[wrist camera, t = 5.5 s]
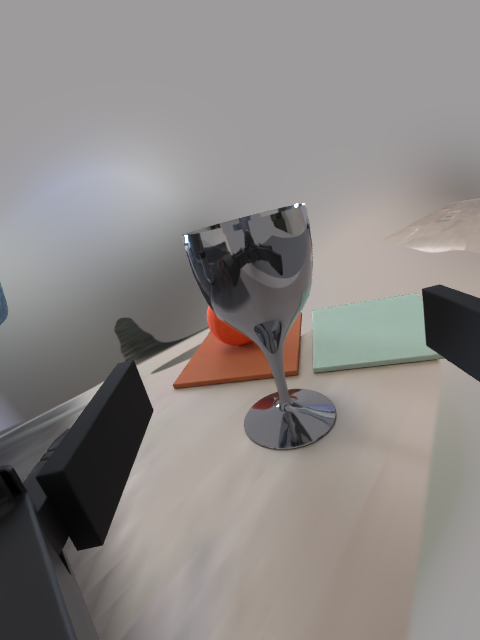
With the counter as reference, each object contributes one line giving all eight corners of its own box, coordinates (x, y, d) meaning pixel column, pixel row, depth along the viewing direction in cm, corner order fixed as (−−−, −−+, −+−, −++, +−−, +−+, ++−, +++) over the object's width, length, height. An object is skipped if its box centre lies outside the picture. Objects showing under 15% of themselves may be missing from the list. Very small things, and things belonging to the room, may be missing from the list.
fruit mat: (174, 388, 34) (172, 384, 34) (214, 328, 49) (214, 325, 48) (297, 374, 31) (296, 370, 30) (302, 315, 45) (301, 311, 45)
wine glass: (220, 442, 24) (154, 243, 19) (264, 384, 30) (223, 221, 26) (325, 464, 20) (274, 215, 15) (351, 390, 26) (321, 197, 21)
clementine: (288, 333, 39) (276, 276, 37) (252, 361, 34) (236, 298, 32) (240, 328, 44) (227, 279, 42) (204, 352, 40) (187, 297, 38)
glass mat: (314, 373, 30) (313, 368, 30) (312, 313, 45) (312, 309, 45) (474, 355, 27) (474, 349, 26) (416, 296, 41) (416, 292, 41)
